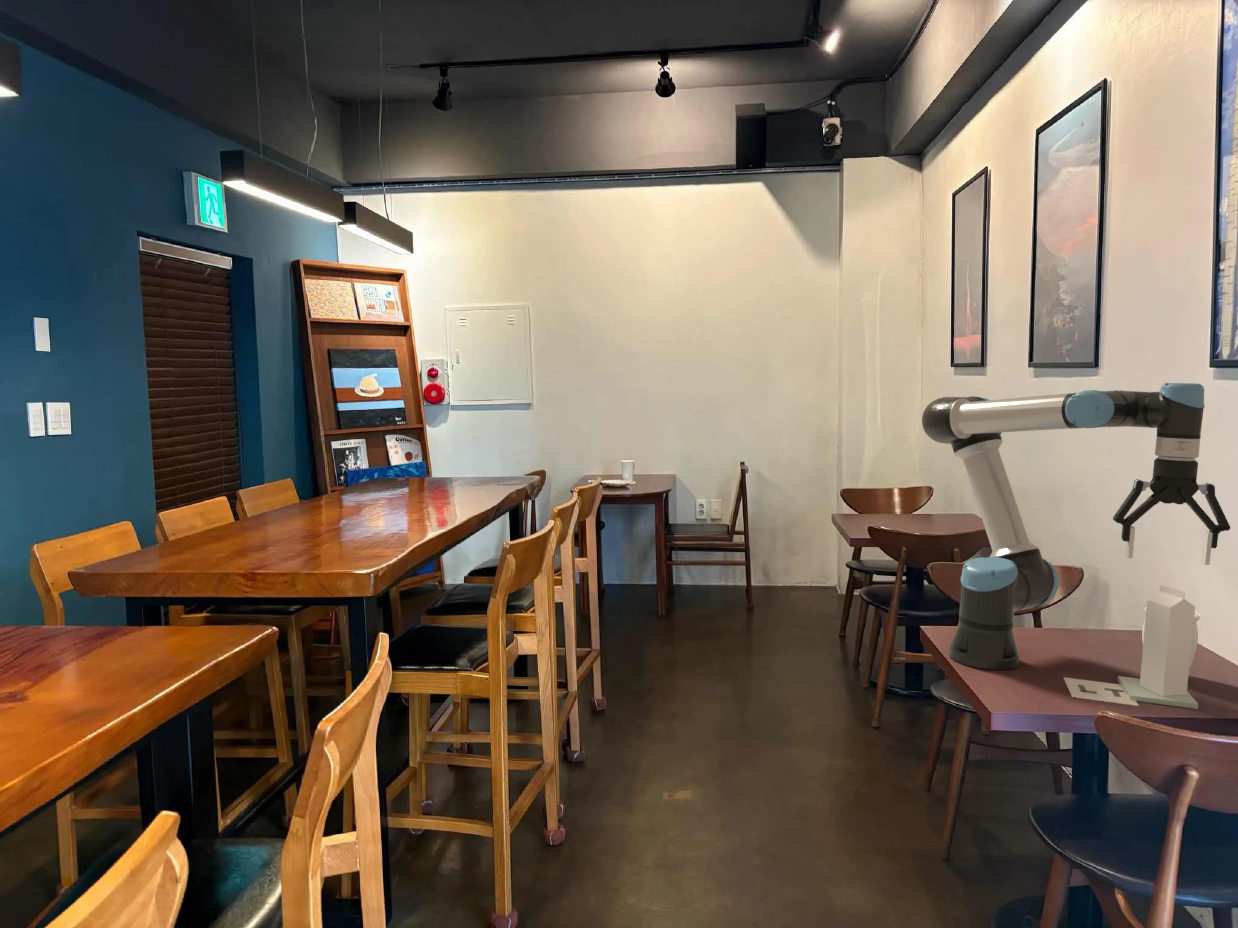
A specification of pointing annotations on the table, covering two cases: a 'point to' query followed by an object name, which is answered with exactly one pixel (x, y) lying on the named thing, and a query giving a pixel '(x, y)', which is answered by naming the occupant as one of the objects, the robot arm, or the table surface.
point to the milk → (1167, 643)
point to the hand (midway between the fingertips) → (1166, 560)
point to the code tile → (1098, 691)
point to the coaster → (1154, 694)
